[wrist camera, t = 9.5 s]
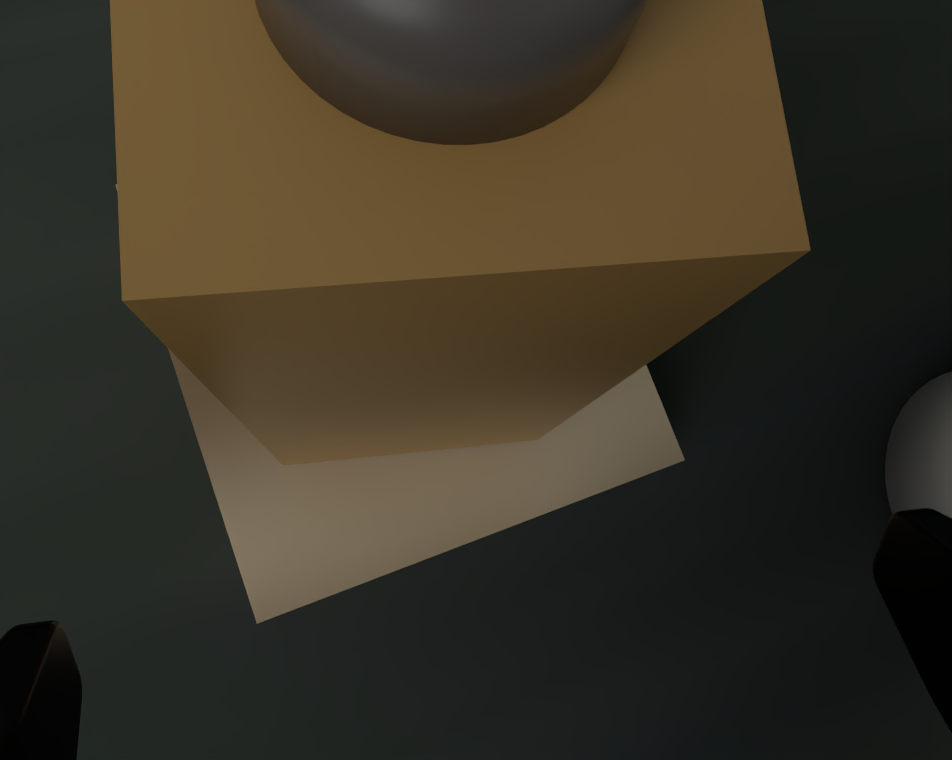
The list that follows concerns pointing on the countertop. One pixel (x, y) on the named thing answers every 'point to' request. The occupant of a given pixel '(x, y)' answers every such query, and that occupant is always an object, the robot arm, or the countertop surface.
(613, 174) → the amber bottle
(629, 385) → the beech block
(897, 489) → the white jar
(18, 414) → the countertop surface
